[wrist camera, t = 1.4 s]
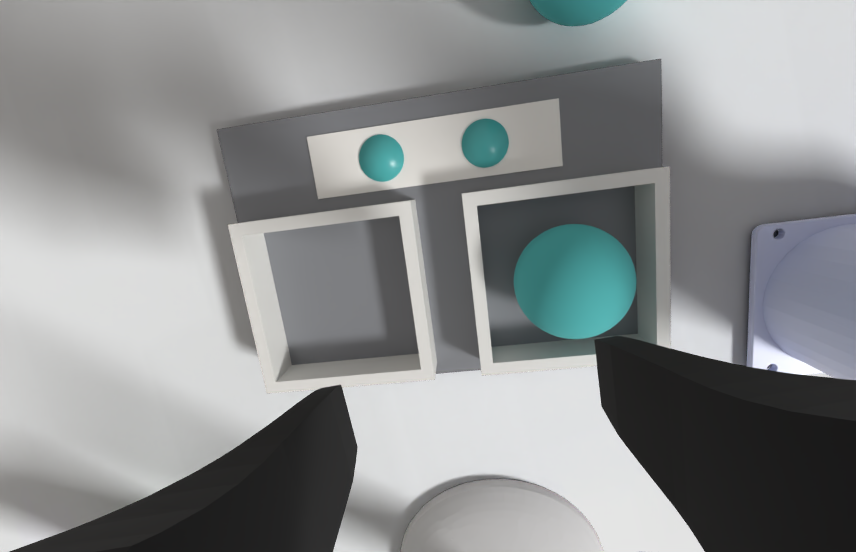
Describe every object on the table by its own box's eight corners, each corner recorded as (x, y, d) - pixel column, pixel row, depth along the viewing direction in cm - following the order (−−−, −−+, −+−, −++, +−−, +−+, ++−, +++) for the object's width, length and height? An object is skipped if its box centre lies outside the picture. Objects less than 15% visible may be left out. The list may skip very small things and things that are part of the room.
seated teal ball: (607, 213, 19) (659, 221, 14) (611, 312, 20) (660, 352, 15) (503, 226, 19) (517, 238, 15) (511, 322, 20) (528, 363, 16)
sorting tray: (650, 65, 18) (686, 41, 15) (654, 346, 21) (685, 371, 18) (228, 132, 20) (189, 122, 18) (283, 379, 23) (257, 406, 20)
